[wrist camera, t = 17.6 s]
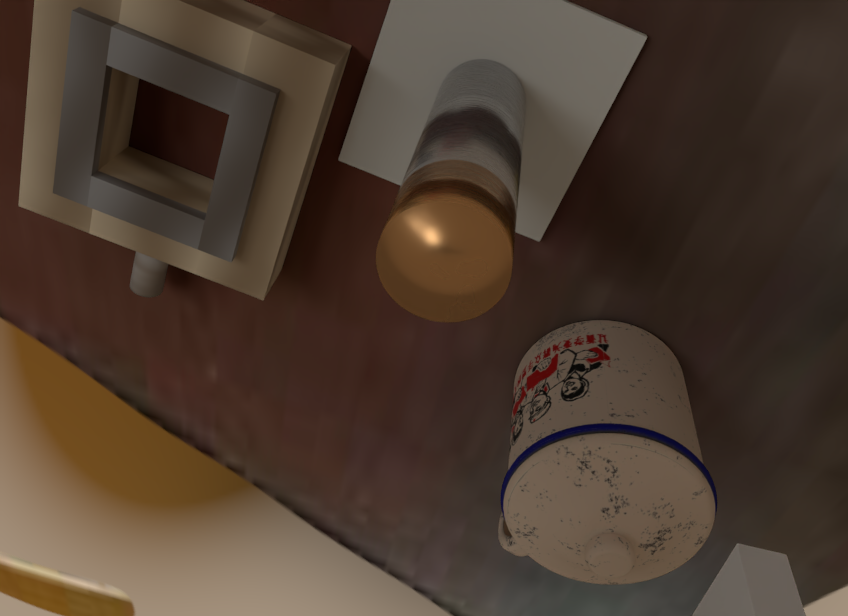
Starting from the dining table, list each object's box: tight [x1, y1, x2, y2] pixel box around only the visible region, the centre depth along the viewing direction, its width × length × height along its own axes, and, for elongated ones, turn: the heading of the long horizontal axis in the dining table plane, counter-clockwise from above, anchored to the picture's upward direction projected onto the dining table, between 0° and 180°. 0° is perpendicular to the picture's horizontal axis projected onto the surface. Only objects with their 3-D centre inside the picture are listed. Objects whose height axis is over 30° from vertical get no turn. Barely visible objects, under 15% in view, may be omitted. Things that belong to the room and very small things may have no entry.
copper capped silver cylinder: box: [376, 59, 526, 322], centre depth 28 cm, size 4×4×14 cm
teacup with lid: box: [498, 320, 717, 585], centre depth 37 cm, size 12×9×12 cm
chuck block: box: [18, 0, 352, 300], centre depth 35 cm, size 12×15×4 cm
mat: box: [338, 0, 647, 242], centre depth 34 cm, size 10×10×1 cm
